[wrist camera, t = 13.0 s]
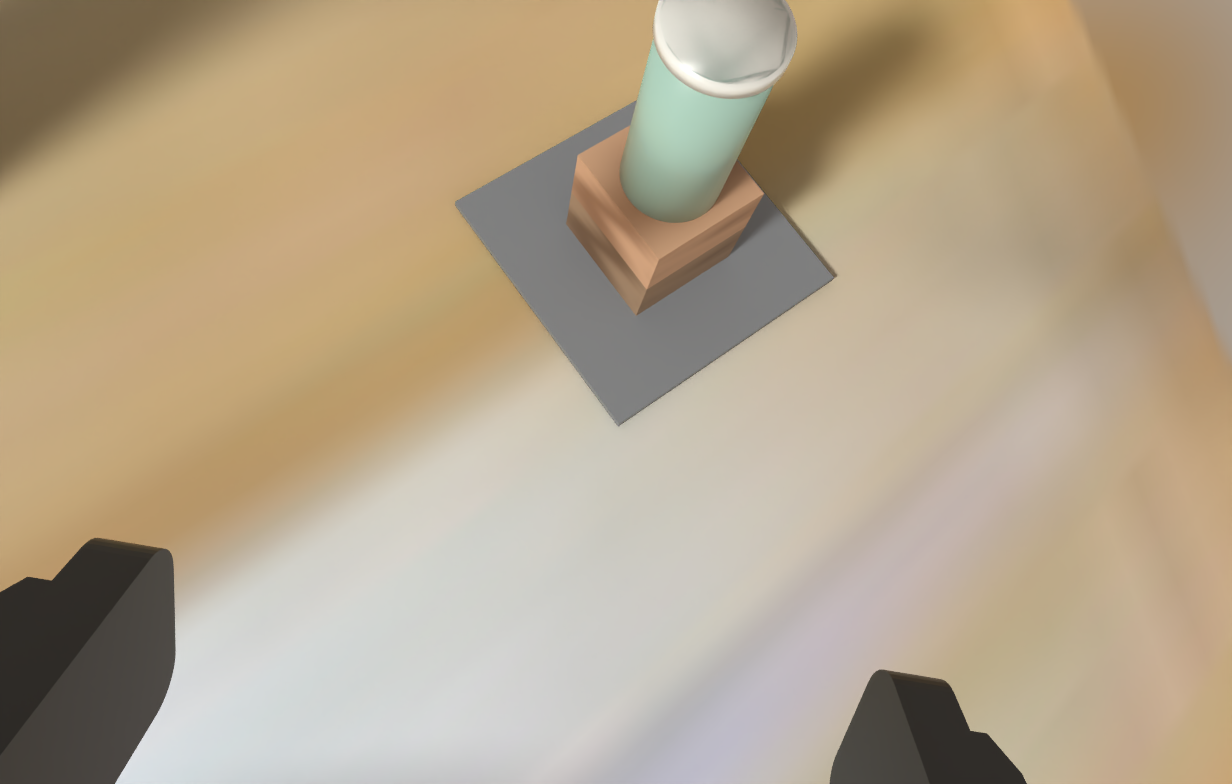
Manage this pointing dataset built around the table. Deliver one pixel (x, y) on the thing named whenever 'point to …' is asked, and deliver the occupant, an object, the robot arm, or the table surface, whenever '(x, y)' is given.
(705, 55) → the sage canister
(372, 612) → the table surface
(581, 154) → the cherry block
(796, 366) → the table surface
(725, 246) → the walnut block
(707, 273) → the slate mat
